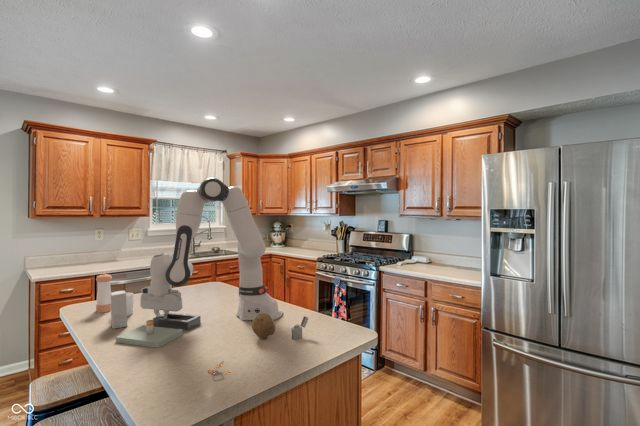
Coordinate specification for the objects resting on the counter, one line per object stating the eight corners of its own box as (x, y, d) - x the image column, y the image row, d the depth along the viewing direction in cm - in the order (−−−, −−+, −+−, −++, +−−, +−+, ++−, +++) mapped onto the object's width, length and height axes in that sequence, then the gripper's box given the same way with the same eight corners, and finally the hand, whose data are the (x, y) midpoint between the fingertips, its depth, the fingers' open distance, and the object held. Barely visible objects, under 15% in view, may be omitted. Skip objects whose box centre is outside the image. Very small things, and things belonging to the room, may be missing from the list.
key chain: (234, 377, 107) (234, 374, 107) (210, 383, 104) (210, 380, 104) (225, 361, 118) (225, 359, 118) (203, 366, 115) (202, 363, 115)
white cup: (111, 316, 168) (111, 295, 167) (126, 311, 175) (126, 292, 175) (123, 318, 165) (123, 297, 164) (137, 313, 172) (137, 293, 172)
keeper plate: (182, 334, 143) (182, 317, 143) (158, 347, 130) (158, 329, 129) (143, 329, 148) (142, 313, 148) (115, 342, 135) (115, 324, 135)
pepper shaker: (107, 312, 173) (106, 274, 173) (92, 312, 173) (92, 274, 173) (115, 308, 181) (115, 271, 180) (102, 308, 181) (101, 271, 180)
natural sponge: (249, 336, 141) (249, 311, 141) (270, 332, 144) (270, 309, 144) (254, 344, 133) (254, 318, 132) (277, 340, 136) (276, 315, 136)
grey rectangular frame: (200, 323, 156) (200, 315, 156) (187, 330, 148) (187, 322, 148) (167, 320, 161) (167, 312, 161) (152, 326, 153) (152, 318, 152)
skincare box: (127, 326, 153) (127, 293, 152) (111, 329, 149) (111, 295, 149) (126, 321, 160) (125, 289, 159) (110, 324, 156) (110, 291, 156)
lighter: (293, 339, 137) (293, 319, 137) (291, 338, 138) (291, 318, 138) (308, 335, 141) (308, 316, 141) (306, 334, 142) (306, 315, 142)
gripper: (185, 288, 157) (185, 319, 157) (148, 286, 162) (148, 315, 162) (175, 292, 150) (176, 323, 151) (137, 289, 156) (138, 319, 156)
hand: (161, 319), depth 157 cm, fingers closed on grey rectangular frame, 2 cm apart
